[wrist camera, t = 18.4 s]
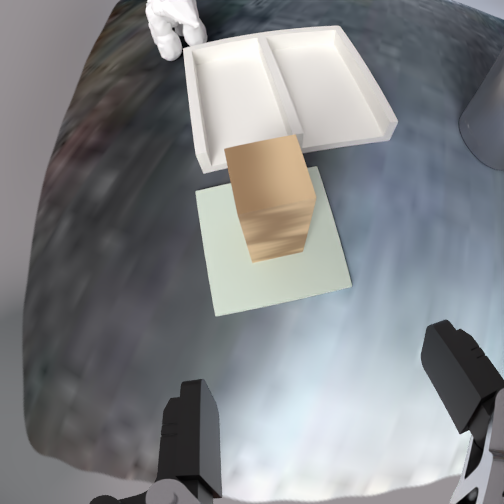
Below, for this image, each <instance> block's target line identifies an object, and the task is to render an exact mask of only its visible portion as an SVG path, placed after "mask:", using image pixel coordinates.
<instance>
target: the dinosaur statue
mask: <svg viewBox="0 0 504 504" xmlns="http://www.w3.org/2000/svg"><path fill="white" fill-rule="evenodd" d="M146 6H147V7H146V15H147V18H148V21H149V24H148V25H149V28H150V30H151V34H152V37H153V39H154V42H155V44H156V45H157V46H158V49H159V52H160V54H161V56H162V57H163V58H164V59H166V60H168V61H173V60H176V59H177V58H178V57H179V56H180V55H181V53H182V45H181V41H180V38H179V36H184V38H185V41H186V42H187V44H188V45H189V46H194V45H199V44H203V43H206V41H207V34H206V28H205V26H204V24H203V23H202V21H201V20H200V18H199V14H198V10H197V7H196V0H148V3H146ZM173 27H174V28H175V32H176V33H175V32H174V31H173V30H172V28H173ZM178 35H179V36H178Z"/></svg>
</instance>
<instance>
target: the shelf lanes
mask: <svg viewBox="0 0 504 504" xmlns="http://www.w3.org/2000/svg"><path fill="white" fill-rule="evenodd" d="M183 53H184V63H185V72H186V81H187V90H188V98H189V106H190V114H191V122H192V130H193V138H194V145H195V153H196V157H197V159H198V161H199V164H200V166H201V168H202V171H203V173H208V172H213V171H217V170H221V169H226V168H228V166H227V161H226V156H225V152H224V149H225V148H230V147H234V146H239V145H243V144H248V143H253V142H258V141H263V140H268V139H273V138H278V137H284V136H289V135H295V134H296V137H297V140H298V142H299V145H300V148H301V151H302V153H307V152H313V151H319V150H326V149H332V148H339V147H345V146H352V145H360V144H367V143H375V142H383V141H389V140H390V138H391V136H392V134H393V132H394V130H395V128H396V125H397V123H398V120H397V118H396V116H395V114H394V112H393V111H392V109H391V107H390V105H389V103H388V101H387V100H386V98H385V96H384V94H383V92H382V91H381V89H380V87H379V86H378V84H377V82H376V80H375V79H374V77H373V75H372V74H371V72H370V71H369V69H368V67H367V66H366V64H365V63H364V61H363V59H362V58H361V56H360V55H359V53H358V52H357V50H356V49H355V47H354V46H353V44H352V43H351V41H350V40H349V38H348V37H347V35H346V34H345V33H344V31H343V30H342V28H341V27H340V26H322V27H307V28H296V29H286V30H277V31H269V32H262V33H255V34H249V35H243V36H237V37H232V38H227V39H221V40H217V41H212V42H207V43H203V44H199V45H194V46H190V47H186V48H183Z"/></svg>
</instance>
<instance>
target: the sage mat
mask: <svg viewBox="0 0 504 504" xmlns="http://www.w3.org/2000/svg"><path fill="white" fill-rule="evenodd" d="M307 169H308V172H309V175H310V178H311V182H312V185H313V188H314V191H315V194H316V197H317V198H316V202H315V206H314V210H313V214H312V218H311V222H310V226H309V230H308V234H307V238H306V242H305V246H304V249H303V252H300V253H296V254H291V255H287V256H282V257H278V258H273V259H269V260H264V261H259V262H255V263H252V260H251V257H250V254H249V251H248V247H247V244H246V241H245V238H244V234H243V231H242V228H241V225H240V221H239V218H238V215H237V210H236V205H235V201H234V196H233V191H232V186H231V183H230V184H225V185H221V186H216V187H212V188H207V189H203V190H199V191H195V192H196V199H197V206H198V213H199V219H200V226H201V233H202V239H203V245H204V252H205V258H206V264H207V270H208V276H209V282H210V288H211V294H212V299H213V305H214V311H215V316H221V315H226V314H231V313H236V312H241V311H246V310H251V309H256V308H261V307H266V306H271V305H275V304H280V303H285V302H289V301H294V300H298V299H303V298H307V297H311V296H316V295H320V294H324V293H329V292H333V291H337V290H341V289H345V288H349V287H352V283H351V279H350V276H349V272H348V268H347V264H346V261H345V257H344V253H343V250H342V246H341V242H340V239H339V235H338V232H337V229H336V225H335V222H334V218H333V215H332V212H331V208H330V205H329V202H328V199H327V196H326V192H325V189H324V186H323V183H322V180H321V177H320V174H319V171H318V168H317V166H316V167H310V168H307Z"/></svg>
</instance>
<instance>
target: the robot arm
mask: <svg viewBox="0 0 504 504" xmlns="http://www.w3.org/2000/svg"><path fill="white" fill-rule="evenodd" d="M459 128H460V132H461V135H462V137H463V139H464V141H465V143H466V145H467V146H468V148H469V149H470V150H471V152H472V153H473V154H474V155H475V156H476V157H477V158H478V159H479V160H480V161H482V162H483V163H484V164H486V165H487V166H489V167H491V168H493V169H496V170H501V171H502V170H504V47H503V49H502V50H501V52H500V54H499V56H498V57H497V59H496V61H495V62H494V64H493V66H492V67H491V69H490V71H489V72H488V74H487V76H486V77H485V79H484V81H483V82H482V84H481V85H480V87H479V89H478V90H477V92H476V93H475V95H474V96H473V98H472V100H471V101H470V103H469V104H468V106H467V107H466V109H465V111H464V112H463V114H462V115H461V117H460V120H459ZM421 361H422V365H423V368H424V370H425V371H426V373H427V375H428V377H429V378H430V380H431V382H432V384H433V385H434V387H435V389H436V391H437V393H438V394H439V396H440V398H441V400H442V402H443V403H444V405H445V407H446V409H447V411H448V413H449V415H450V416H451V418H452V420H453V422H454V424H455V426H456V428H457V430H458V432H459V434H462V433H464V432H466V431H468V430H470V432H471V434H472V435H471V437H470V441H469V446H468V451H467V455H466V459H465V463H464V467H463V471H462V475H461V478H460V482H459V484H458V486H457V488H456V489H455V491H454V493H453V495H452V497H451V500H450V503H449V504H504V380H503V378H502V377H501V375H500V374H499V372H498V371H497V370H496V368H495V367H494V365H493V364H492V363H491V361H490V360H489V358H488V357H487V356H485V353H484V352H483V350H482V349H481V348H479V345H478V344H477V342H476V341H475V340H474V338H473V337H472V336H471V335H469V334H468V333H466V332H465V331H463V330H462V329H459V330H456V329H455V328H454V327H453V325H452V324H451V323H450V322H449V321H448V320H443V321H440V322H437V323H434V324H432V325H429V326H428V327H427V329H426V334H425V338H424V343H423V347H422V352H421ZM162 425H163V426H162V430H161V435H162V437H161V440H160V451H159V462H158V473H157V478H156V481H155V483H154V484H153V485H152V486H151V487H150V488H149V489H148V490H147V491H146V492H144V493H142V494H139V495H136V496H132V497H128V498H124V499H120V500H117V499H116V498H114V497H112V496H108V495H102V496H98V497H96V498H94V499H93V500H92V501H91V502H90V504H213V498H222V483H221V458H220V428H219V412H218V408H217V404H216V402H215V400H214V398H213V396H212V394H211V392H210V390H209V388H208V386H207V384H206V382H205V380H204V379H199V380H191V381H184V382H182V384H181V390H180V397H177V398H170V400H169V402H168V404H167V405H166V407H165V409H164V411H163V421H162Z"/></svg>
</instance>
